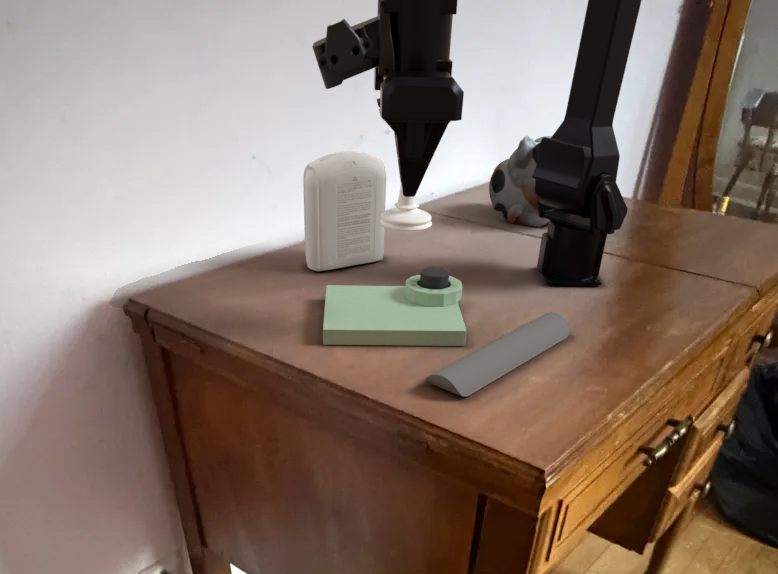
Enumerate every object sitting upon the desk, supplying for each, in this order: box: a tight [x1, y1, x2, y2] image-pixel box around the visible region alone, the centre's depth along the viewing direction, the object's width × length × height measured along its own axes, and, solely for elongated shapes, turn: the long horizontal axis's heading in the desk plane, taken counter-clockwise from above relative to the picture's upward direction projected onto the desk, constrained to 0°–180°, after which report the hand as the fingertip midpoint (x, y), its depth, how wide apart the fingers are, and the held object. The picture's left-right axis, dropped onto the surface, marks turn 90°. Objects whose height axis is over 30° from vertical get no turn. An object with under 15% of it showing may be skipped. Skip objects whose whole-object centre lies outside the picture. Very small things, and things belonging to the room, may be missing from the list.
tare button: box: [419, 266, 450, 289], centre depth 76 cm, size 3×3×2 cm
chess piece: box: [380, 157, 433, 232], centre depth 65 cm, size 5×5×10 cm
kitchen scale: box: [322, 274, 467, 347], centre depth 74 cm, size 14×12×3 cm
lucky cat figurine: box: [488, 135, 553, 228], centre depth 102 cm, size 15×12×14 cm
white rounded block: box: [302, 150, 387, 272], centre depth 85 cm, size 10×4×12 cm, turn 123°
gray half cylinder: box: [424, 311, 571, 398], centre depth 68 cm, size 4×20×2 cm, turn 139°
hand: (408, 193), depth 67 cm, fingers closed on chess piece
